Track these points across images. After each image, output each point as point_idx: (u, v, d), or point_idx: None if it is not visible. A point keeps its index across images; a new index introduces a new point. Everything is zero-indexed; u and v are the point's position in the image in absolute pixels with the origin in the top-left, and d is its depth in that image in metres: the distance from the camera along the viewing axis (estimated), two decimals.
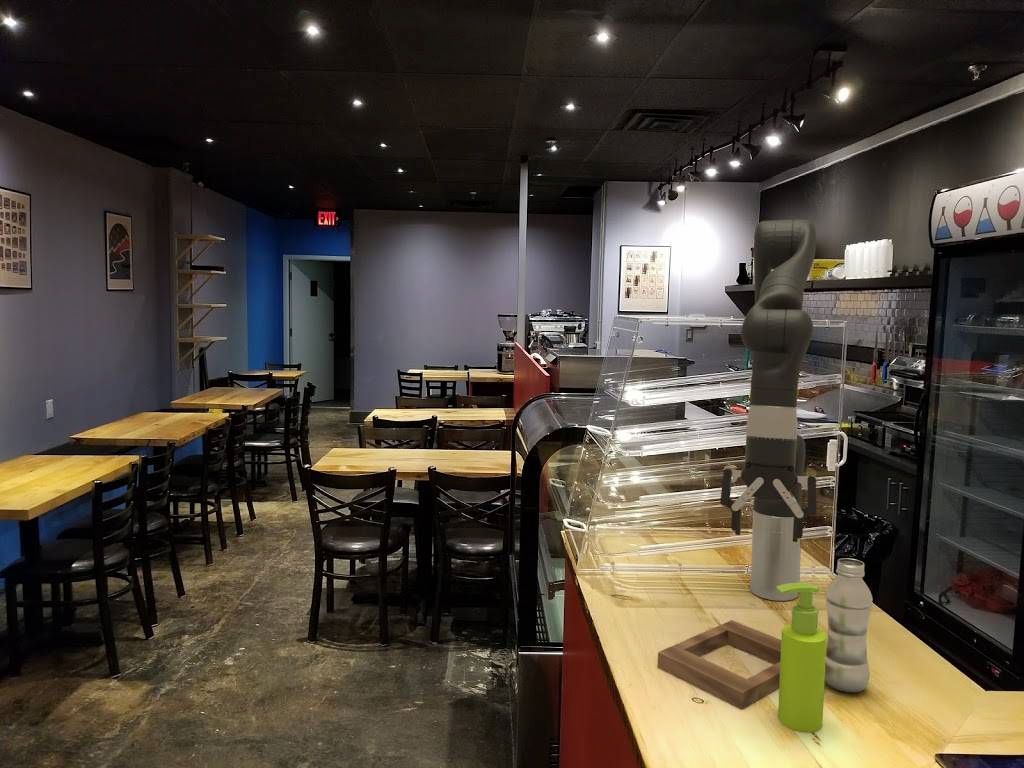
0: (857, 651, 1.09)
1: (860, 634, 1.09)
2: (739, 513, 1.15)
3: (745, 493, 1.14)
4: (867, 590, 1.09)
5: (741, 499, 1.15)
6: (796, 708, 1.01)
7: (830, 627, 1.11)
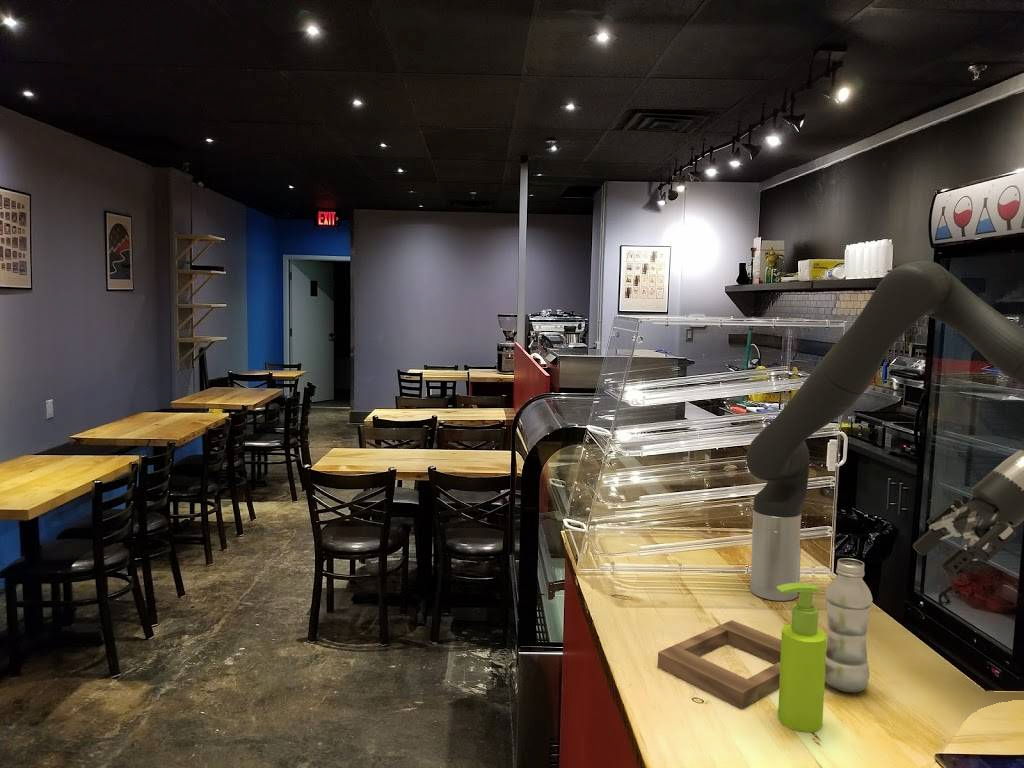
0: (857, 651, 1.09)
1: (860, 634, 1.09)
2: None
3: None
4: (867, 590, 1.09)
5: None
6: (796, 708, 1.01)
7: (830, 627, 1.11)
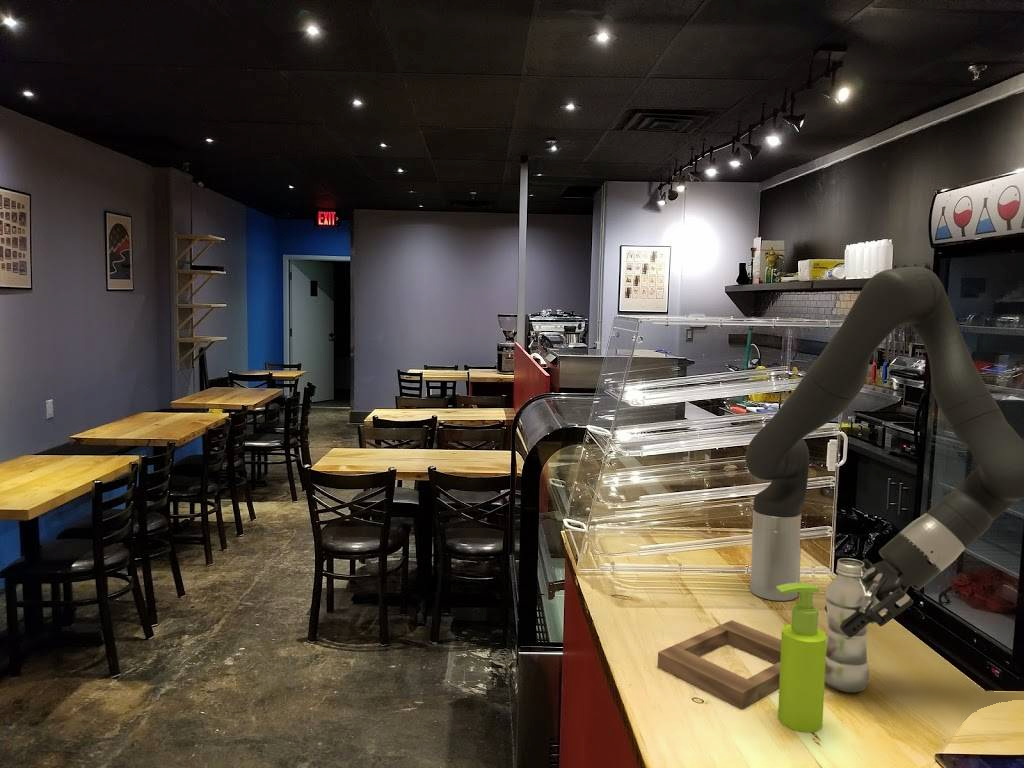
0: (857, 651, 1.09)
1: (860, 634, 1.09)
2: None
3: (887, 608, 1.08)
4: (867, 590, 1.09)
5: None
6: (796, 708, 1.01)
7: (830, 627, 1.11)
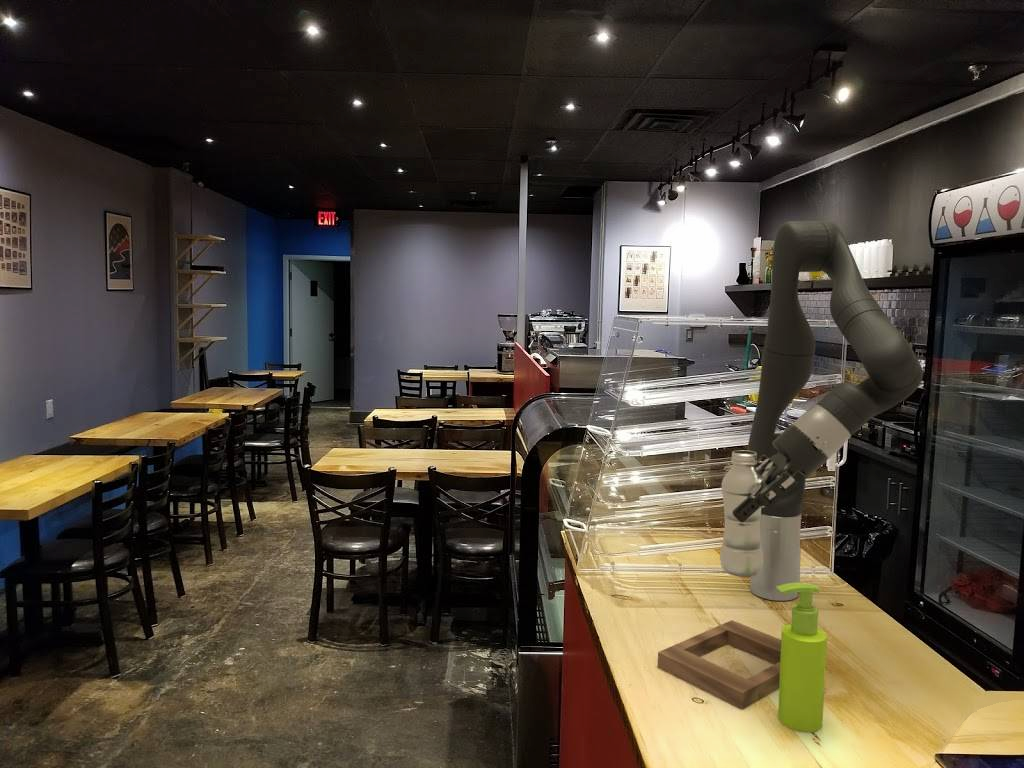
0: (750, 536, 1.14)
1: (752, 520, 1.13)
2: None
3: None
4: None
5: None
6: (796, 708, 1.01)
7: (725, 516, 1.16)
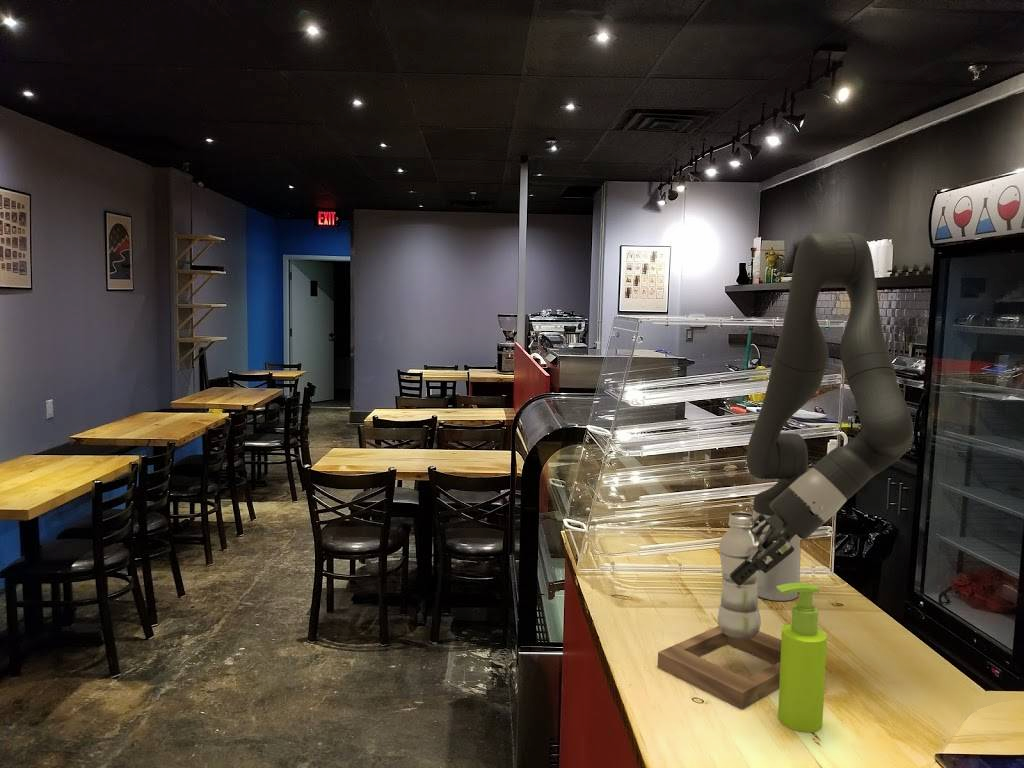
0: (747, 599, 1.15)
1: (749, 583, 1.14)
2: None
3: None
4: (756, 540, 1.15)
5: None
6: (796, 708, 1.01)
7: (723, 577, 1.17)
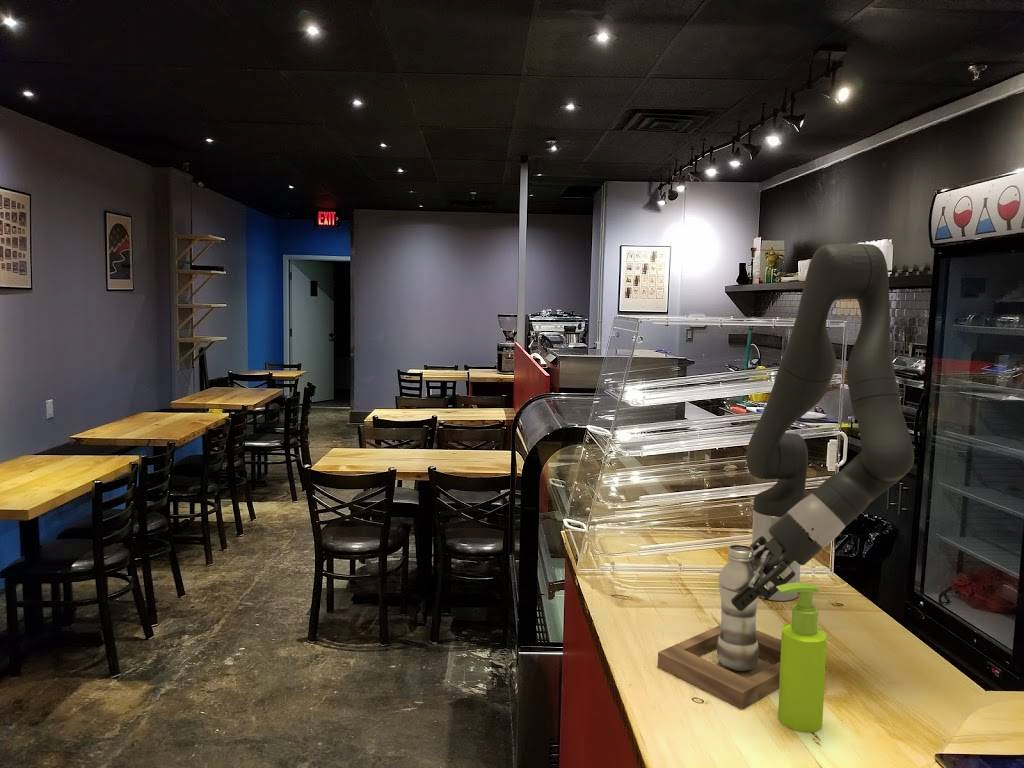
0: (746, 631, 1.16)
1: (749, 616, 1.15)
2: None
3: None
4: None
5: None
6: (796, 708, 1.01)
7: (722, 610, 1.18)
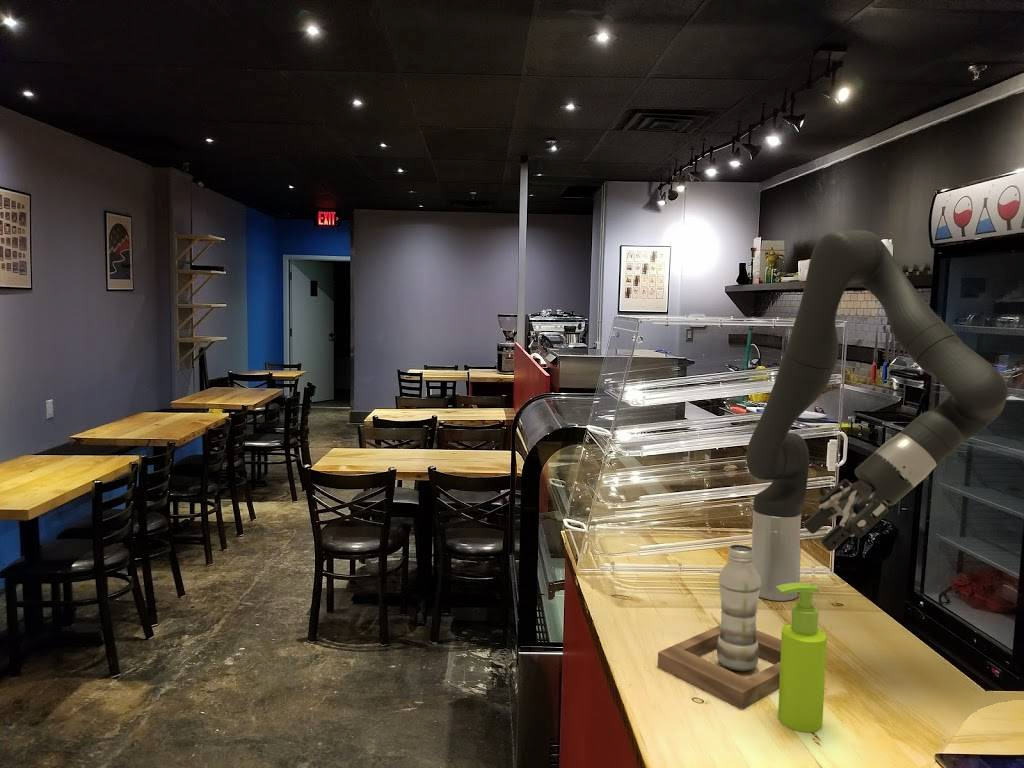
0: (746, 631, 1.16)
1: (749, 616, 1.15)
2: None
3: None
4: (755, 574, 1.16)
5: (858, 526, 1.11)
6: (796, 708, 1.01)
7: (722, 609, 1.18)
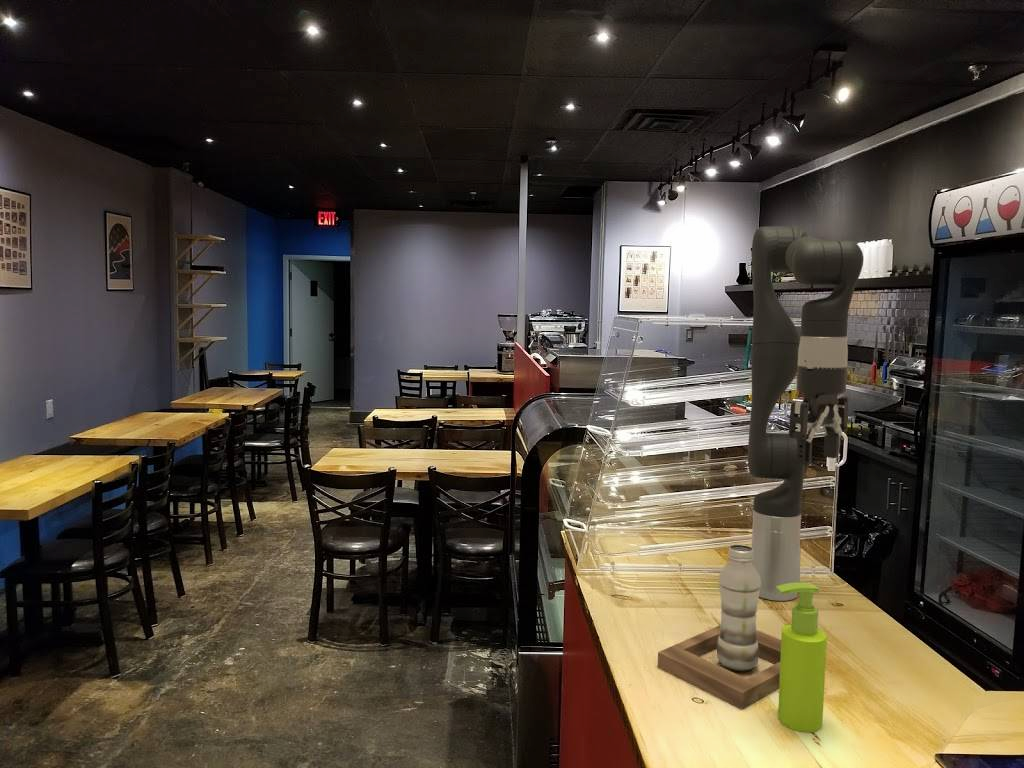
0: (746, 631, 1.16)
1: (749, 616, 1.15)
2: (811, 443, 1.17)
3: (818, 423, 1.17)
4: (755, 574, 1.16)
5: (813, 430, 1.17)
6: (796, 708, 1.01)
7: (722, 609, 1.18)
